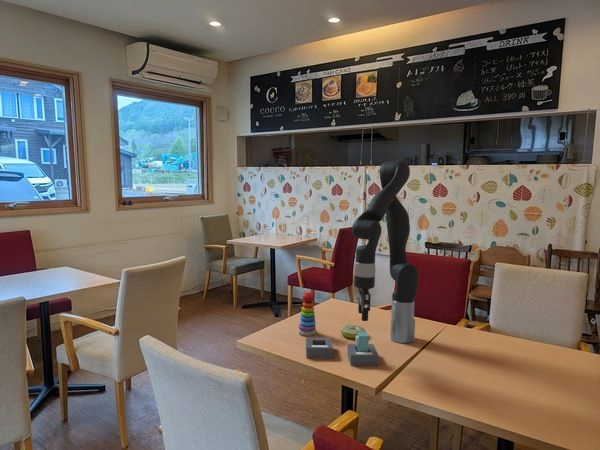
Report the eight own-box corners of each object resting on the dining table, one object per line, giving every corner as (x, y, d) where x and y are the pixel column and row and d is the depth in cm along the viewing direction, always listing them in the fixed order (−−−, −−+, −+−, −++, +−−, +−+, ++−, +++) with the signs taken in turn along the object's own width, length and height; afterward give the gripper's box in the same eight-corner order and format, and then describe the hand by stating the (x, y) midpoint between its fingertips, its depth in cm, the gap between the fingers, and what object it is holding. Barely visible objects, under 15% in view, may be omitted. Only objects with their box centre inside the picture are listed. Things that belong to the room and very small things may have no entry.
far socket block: (330, 347, 164) (330, 337, 164) (332, 358, 154) (333, 347, 154) (305, 347, 164) (305, 337, 163) (306, 358, 154) (306, 347, 154)
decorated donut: (369, 334, 179) (369, 325, 179) (360, 342, 170) (360, 333, 169) (347, 329, 184) (347, 321, 184) (337, 337, 175) (337, 328, 175)
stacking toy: (316, 336, 175) (317, 294, 173) (297, 336, 175) (298, 294, 173) (316, 330, 183) (316, 289, 181) (298, 329, 183) (298, 289, 181)
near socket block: (373, 354, 158) (373, 343, 158) (378, 365, 148) (378, 354, 148) (347, 353, 158) (347, 343, 158) (350, 365, 148) (351, 354, 148)
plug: (366, 357, 155) (367, 332, 154) (367, 361, 151) (368, 336, 150) (354, 357, 155) (355, 332, 154) (356, 361, 151) (356, 335, 150)
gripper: (378, 279, 143) (376, 323, 144) (371, 270, 157) (369, 310, 159) (357, 278, 143) (355, 323, 144) (352, 269, 157) (350, 310, 159)
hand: (362, 316), depth 151 cm, fingers open, 8 cm apart
